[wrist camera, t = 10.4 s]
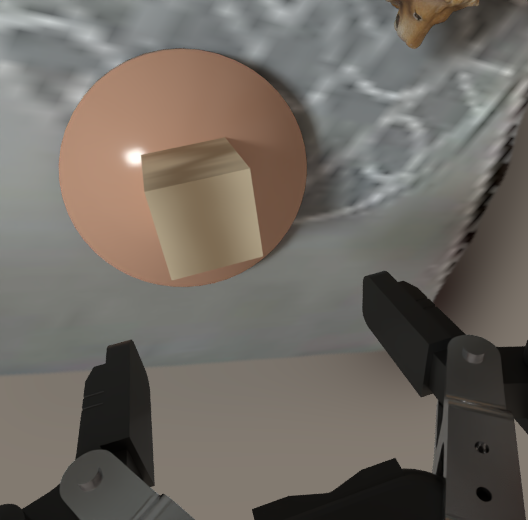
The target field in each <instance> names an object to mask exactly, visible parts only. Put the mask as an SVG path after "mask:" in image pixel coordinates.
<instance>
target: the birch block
mask: <svg viewBox="0 0 528 520" xmlns="http://www.w3.org/2000/svg"><path fill="white" fill-rule="evenodd" d="M141 162H142V172H143V183H144V193H145V196H146V199H147V202H148V206H149V209H150V212H151V215H152V218H153V222H154V225H155V228H156V231H157V235H158V238H159V241H160V244H161V248H162V251H163V254H164V257H165V261H166V264H167V267H168V270H169V273H170V277H171V280H176V279H180V278H183V277H187V276H191V275H195V274H199V273H202V272H206V271H210V270H214V269H217V268H221V267H225V266H229V265H233V264H236V263H240V262H244V261H248V260H252V259H255V258H259V257H263V252H262V245H261V238H260V232H259V225H258V218H257V212H256V205H255V198H254V192H253V185H252V178H251V172H250V168H249V167H248V165H247V164H246V163H245V162H244V160H243V159H242V158H241V157H240V155H239V154H238V153H237V152H236V150H235V149H234V148H233V147H232V145H231V144H230V143H229V142H228V140H227V139H226V138H225V137H224V138H219V139H215V140H210V141H205V142H200V143H195V144H191V145H186V146H181V147H176V148H171V149H166V150H162V151H157V152H152V153H147V154H142V155H141Z"/></svg>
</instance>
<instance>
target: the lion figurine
mask: <svg viewBox="0 0 528 520" xmlns="http://www.w3.org/2000/svg"><path fill="white" fill-rule="evenodd" d="M386 1H387V2H391V4H392V5H393V6H395V7H396V8H399V11H398V14H397V17H396V20H395V23H394V27H395V30H396V31H397V34H398V36H399V37H400V38H401V39H402V40H403V41H405V42H406V44H407V45H408V46H409V47H410V48H412V49H415V48H417V47H419V46H420V45H421V43H422V41H423V39H424V37H425V36H426V34H427V33H428V31H429V30H430V28H431V27H432V26H433V25H435V24H438V23H441V22H445V21H446V20H447V19H448V17H449V16H450V14H451V13H452V12H454V11H457V10H460V9H463V8H466V7H468V6H479V0H386Z"/></svg>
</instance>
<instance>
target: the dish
mask: <svg viewBox="0 0 528 520" xmlns="http://www.w3.org/2000/svg"><path fill="white" fill-rule="evenodd" d="M224 137H225V138H226V139H227V140H228V142H229V143H230V144H231V145H232V147H233V148H234V149H235V150H236V152H237V153H238V154H239V155H240V157H241V158H242V159H243V160H244V162H245V163H246V164H247V165H248V167H249V168H250V172H251V178H252V185H253V192H254V198H255V205H256V212H257V218H258V225H259V232H260V238H261V245H262V252H263V257H259V258H255V259H252V260H248V261H244V262H240V263H236V264H233V265H229V266H225V267H221V268H217V269H214V270H210V271H206V272H202V273H199V274H195V275H191V276H187V277H183V278H180V279H176V280H171V277H170V273H169V270H168V267H167V264H166V261H165V257H164V254H163V251H162V248H161V244H160V241H159V238H158V235H157V231H156V228H155V225H154V222H153V218H152V215H151V212H150V209H149V206H148V202H147V199H146V196H145V193H144V183H143V172H142V162H141V155H142V154H147V153H152V152H157V151H162V150H166V149H171V148H176V147H181V146H186V145H191V144H195V143H200V142H205V141H210V140H215V139H219V138H224ZM306 176H307V160H306V152H305V145H304V142H303V138H302V134H301V131H300V128H299V126H298V123H297V121H296V118H295V117H294V115H293V113H292V111H291V110H290V108H289V106H288V104H287V103H286V102H285V100H284V99H283V98H282V96H281V95H280V94H279V93H278V91H277V90H276V89H275V88H274V87H273V86H272V85H271V84H270V83H269V82H268V81H267V80H265V79H264V78H263V77H261V76H260V75H259V74H257V73H256V72H255V71H253V70H252V69H250V68H248V67H247V66H245V65H243V64H241V63H239V62H237V61H235V60H233V59H230V58H228V57H225V56H222V55H220V54H217V53H213V52H208V51H204V50H199V49H186V48H175V49H163V50H158V51H153V52H149V53H145V54H142V55H139V56H137V57H134V58H132V59H129V60H127V61H125V62H123V63H122V64H120V65H118V66H117V67H115V68H113V69H111V70H110V71H109V72H108V73H106V74H105V75H104V76H103V77H101V78H100V79H99V80H98V81H97V82H96V83H95V84H94V85H93V86H92V87H91V88H90V89H89V90H88V92H87V93H86V94H85V95H84V96H83V98H82V100H81V101H80V103H79V104H78V106H77V107H76V109H75V110H74V112H73V114H72V116H71V119H70V121H69V123H68V125H67V127H66V130H65V133H64V137H63V141H62V144H61V150H60V158H59V181H60V186H61V192H62V197H63V200H64V203H65V206H66V209H67V212H68V214H69V216H70V218H71V220H72V222H73V224H74V226H75V228H76V229H77V231H78V232H79V234H80V235H81V236H82V238H83V239H84V241H85V242H86V243H87V244H88V245H89V246H90V247H91V248H92V249H93V251H94V252H96V253H97V254H98V255H99V256H100V257H101V258H103V259H104V260H105V261H106V262H108V263H109V264H111V265H112V266H114V267H115V268H117V269H118V270H120V271H122V272H124V273H126V274H128V275H130V276H132V277H135V278H137V279H140V280H143V281H146V282H150V283H154V284H158V285H165V286H173V287H191V286H201V285H206V284H211V283H216V282H219V281H222V280H225V279H228V278H231V277H233V276H235V275H237V274H240V273H242V272H243V271H245V270H247V269H249V268H250V267H252V266H254V265H255V264H256V263H258V262H259V261H260V260H262V259H263V258H264V257H265V256H266V255H268V254H269V253H270V252H271V251H272V250H273V249H274V248H275V247H276V246H277V244H278V243H279V242H280V241H281V240H282V239H283V237H284V236H285V234H286V233H287V231H288V230H289V228H290V227H291V225H292V223H293V221H294V219H295V217H296V215H297V213H298V210H299V208H300V205H301V202H302V198H303V194H304V191H305V184H306Z"/></svg>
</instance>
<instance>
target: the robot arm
mask: <svg viewBox="0 0 528 520" xmlns="http://www.w3.org/2000/svg"><path fill="white" fill-rule="evenodd" d="M362 310H363V316H364V319H365V322H366V324H367V326H368V327H369V328H370V330H371V331H372V333H373V334H374V335H375V337H376V338H377V339H378V341H379V342H380V343H381V345H382V346H383V347H384V349H385V350H386V351H387V353H388V354H389V355H390V356H391V358H392V359H393V361H394V362H395V363H396V365H397V366H398V367H399V369H400V370H401V371H402V373H403V374H404V375H405V377H406V378H407V379H408V381H409V382H410V383H411V385H412V386H413V387H414V389H415V390H416V391H417V393H418V394H419V395H420V397H424V396H426V395H430V394H434V395H435V396H436V398H437V399H438V402H437V411H436V431H435V448H434V461H433V469H432V473H430V472H426V471H422V470H416V469H401V467H400V465H399V464H398V462H397V460H396V459H395V458H393V459H391V460H388V461H385V462H382V463H380V464H377V465H374V466H372V467H368V468H366V469H363V470H361V471H359V472H358V473H357V474H355V475H354V476H353V477H351V478H350V479H349V480H347V481H346V482H344V483H343V484H342V485H340V486H339V487H338V488H336V489H335V490H333V491H332V492H330V493H324V494H311V495H298V496H288V497H285V498H282V499H279V500H277V501H274V502H271V503H268V504H265V505H263V506H260V507H257V508H254V509H252V511H253V515H254V520H526V517H525V509H524V500H523V492H522V483H521V475H520V466H519V458H518V450H517V441H516V433H515V423H514V419H515V420H516V421H517V422H518V423H519V425H520V426H521V427H522V428H523V429H524V430H525V431H526V433H527V434H528V340H527V343H526V346H524V347H523V346H522V347H495V345H493V344H492V343H491V342H489V341H487V340H486V339H484V338H481V337H478V336H474V335H466V334H465V333H464V332H462V331H461V330H460V329H459V328H458V327H457V326H456V325H455V324H454V323H453V322H452V321H451V320H450V319H449V318H448V317H447V316H446V315H445V314H444V313H443V312H442V311H441V310H440V309H439V308H438V307H435V304H434V303H433V302H432V301H431V300H430V299H427V297H426V296H425V295H424V294H423V293H422V292H421V291H420V290H419V289H418V288H417V287H415V286H413V285H411V284H409V283H407V282H405V281H401V282H397V281H396V280H395V279H394V278H393V277H392V276H391V275H390V274H389V273H388V272H387V271H382V272H379V273H375V274H371V275H368V276H365V277H364V279H363V306H362ZM82 409H83V411H82V413H81V421H80V429H79V437H78V445H77V454H76V459H75V461H74V462H73V463H72V464H71V465H70V466H69V467H68V468H67V470H66V471H65V473H64V475H63V477H62V479H61V483H60V484H59V485H58V486H57V487H55V488H54V489H53V490H51V491H50V492H49V493H47V494H45V495H44V496H42V497H41V498H39V499H38V500H36V501H34V502H33V503H31V504H30V505H28V506H26V507H25V508H23V509H21V508H20V507H18V506H17V505H14V504H4V505H0V520H195V519H194V518H192V517H191V516H190V515H189V514H188V513H187V512H185V511H184V510H183V509H182V508H181V507H180V506H179V505H178V504H176V503H175V502H174V501H173V500H172V499H170V498H169V497H168V496H166V495H165V494H162V495H159V494H157V493H156V492H155V491H154V490H153V489H151V488H150V487H152V486H154V463H153V443H152V422H151V402H150V387H149V381H148V377H147V374H146V371H145V368H144V366H143V363H142V361H141V359H140V356H139V354H138V351H137V349H136V347H135V344H134V342H133V341H132V340H128V341H124V342H121V343H117V344H114V345H110V346H108V347H107V353H106V364H103V365H99V366H96V367H94V368H93V369H92V371H91V373H90V375H89V376H88V378H87V380H86V381H85V389H84V399H83V406H82Z"/></svg>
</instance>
